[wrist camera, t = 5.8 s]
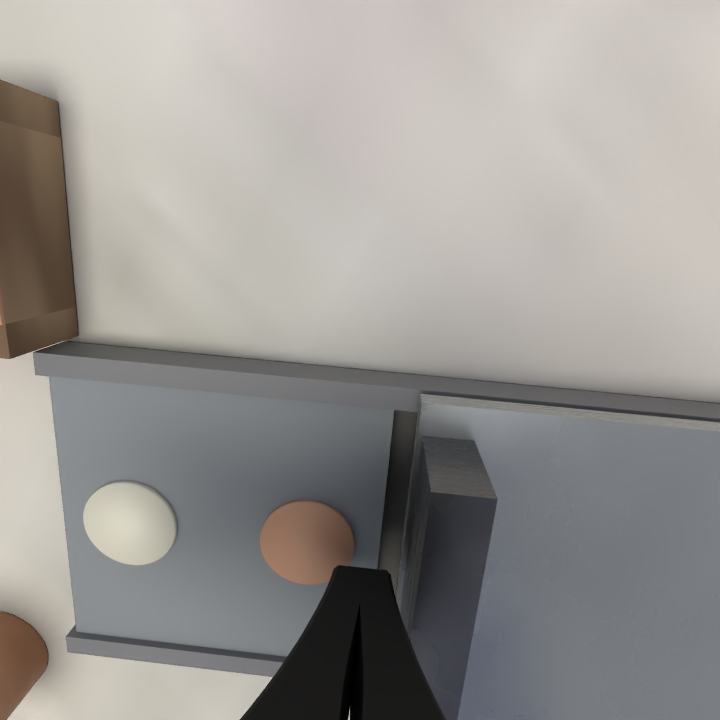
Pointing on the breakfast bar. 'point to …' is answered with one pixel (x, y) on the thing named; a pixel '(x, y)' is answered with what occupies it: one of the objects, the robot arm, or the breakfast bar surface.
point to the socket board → (33, 226)
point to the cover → (563, 562)
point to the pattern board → (234, 491)
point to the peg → (18, 661)
